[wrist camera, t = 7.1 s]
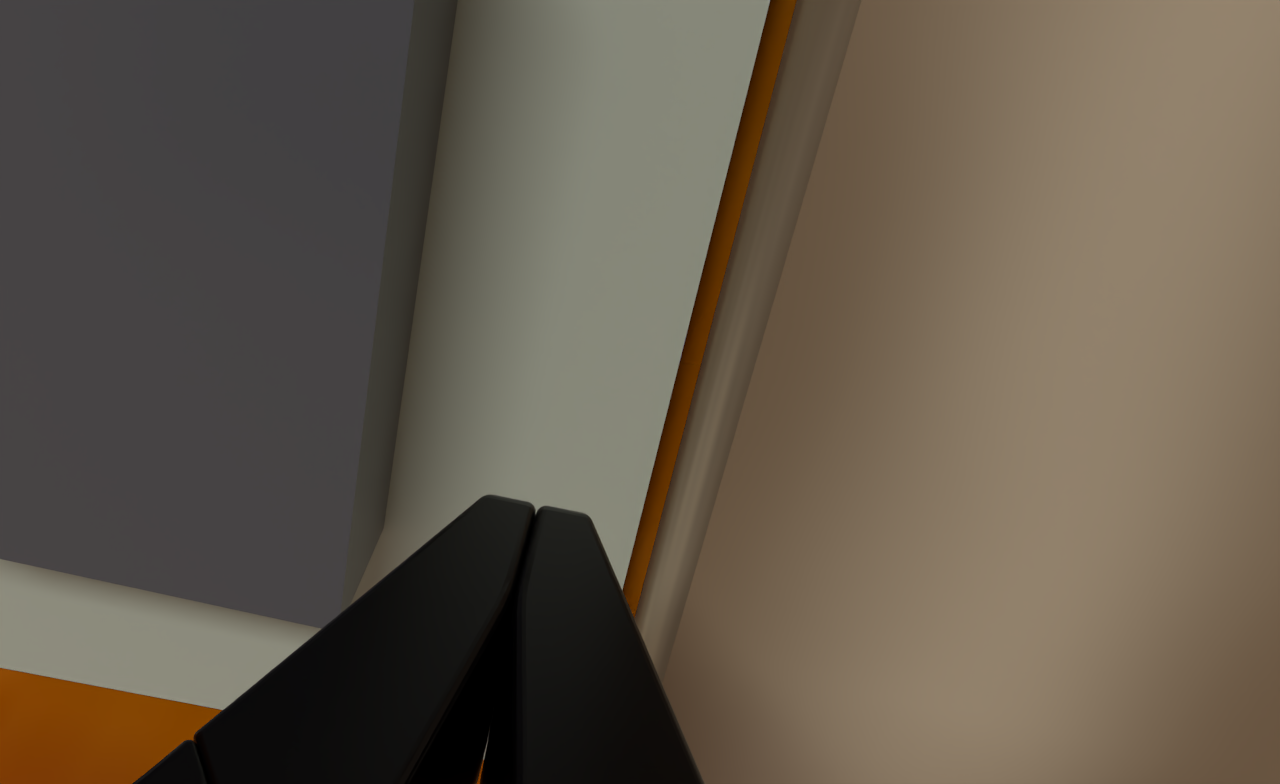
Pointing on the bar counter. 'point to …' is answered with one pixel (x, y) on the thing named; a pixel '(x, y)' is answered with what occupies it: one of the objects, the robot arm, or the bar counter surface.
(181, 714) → the bar counter surface
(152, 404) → the charcoal grey slab
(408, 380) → the mat
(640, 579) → the bar counter surface
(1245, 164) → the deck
